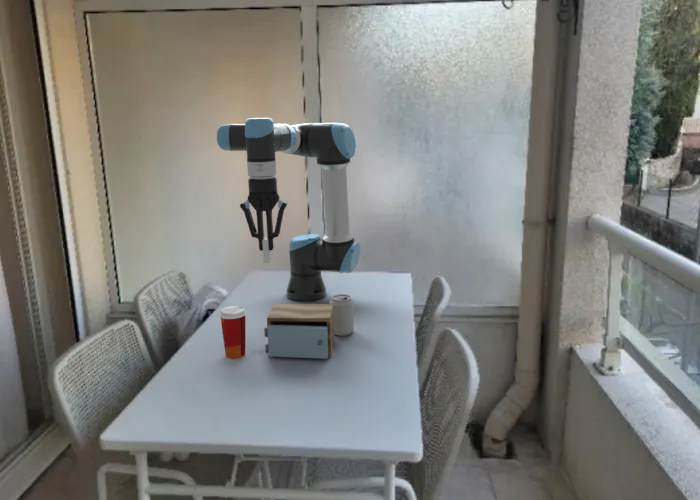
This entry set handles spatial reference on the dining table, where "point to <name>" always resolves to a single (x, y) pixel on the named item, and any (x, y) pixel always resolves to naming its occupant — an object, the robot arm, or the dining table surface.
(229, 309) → the paper cup
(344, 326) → the can
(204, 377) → the dining table surface
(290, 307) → the cabinet
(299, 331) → the door
